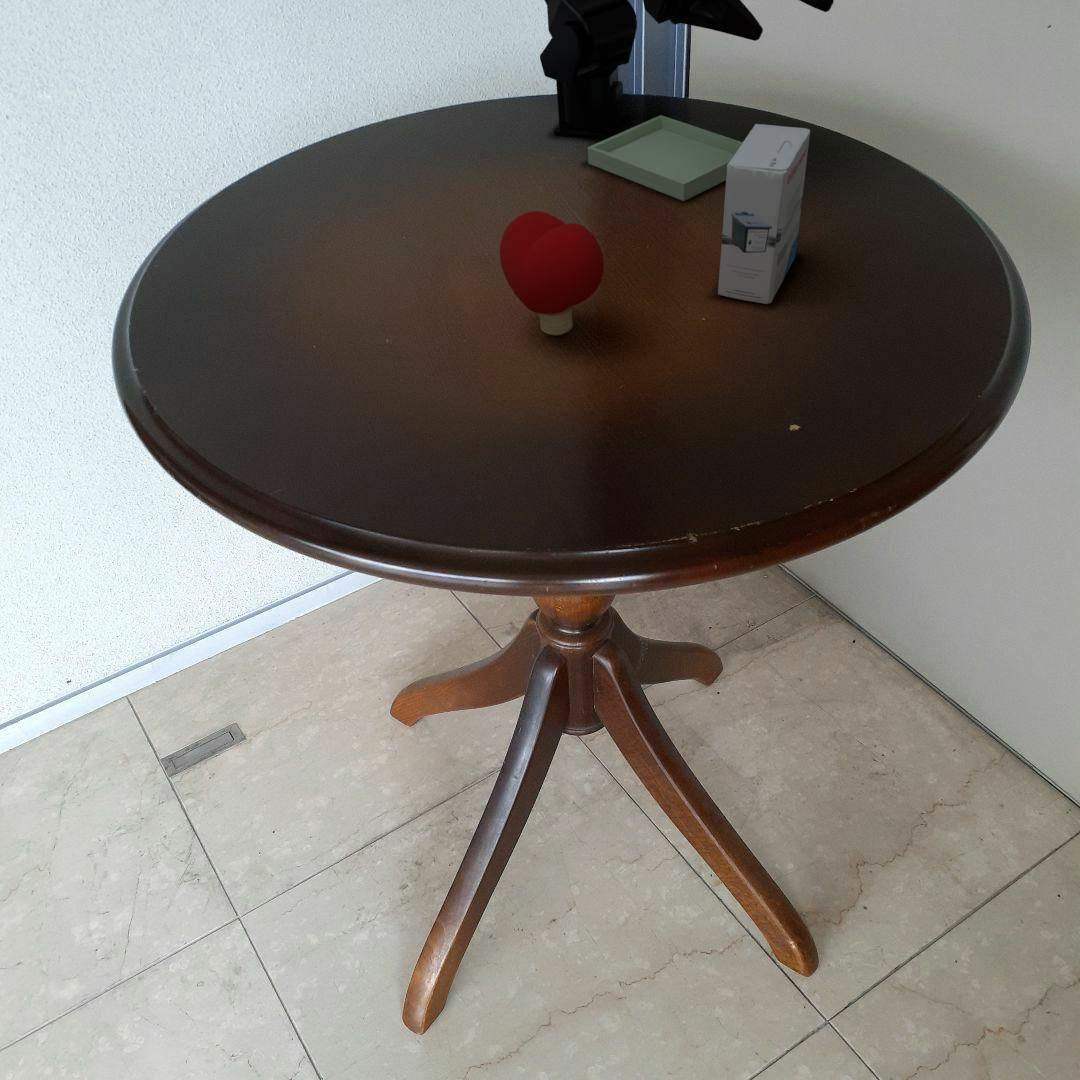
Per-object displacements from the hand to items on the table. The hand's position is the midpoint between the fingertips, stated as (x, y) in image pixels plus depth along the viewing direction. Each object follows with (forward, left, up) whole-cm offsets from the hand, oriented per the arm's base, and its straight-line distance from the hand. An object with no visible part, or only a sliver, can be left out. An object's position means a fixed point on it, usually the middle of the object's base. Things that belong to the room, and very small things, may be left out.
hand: (795, 21), depth 89 cm
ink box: (+1, -15, -16) cm, 22 cm away
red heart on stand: (-13, -28, -16) cm, 35 cm away
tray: (-13, +6, -16) cm, 21 cm away
